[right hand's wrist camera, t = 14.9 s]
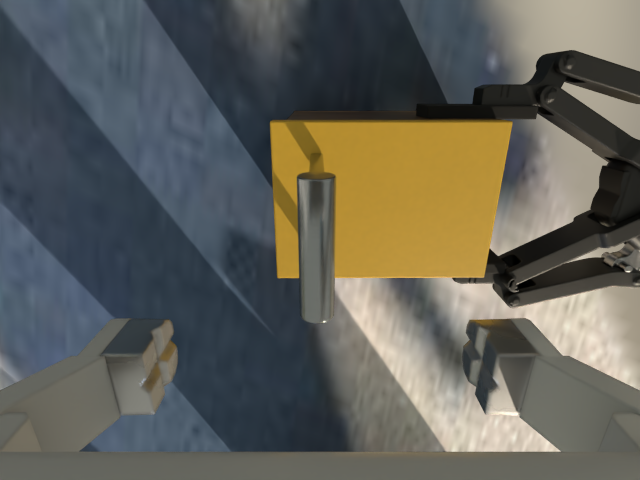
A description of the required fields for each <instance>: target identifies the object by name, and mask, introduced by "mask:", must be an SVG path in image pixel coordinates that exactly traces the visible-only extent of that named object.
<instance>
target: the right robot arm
mask: <svg viewBox="0 0 640 480" xmlns="http://www.w3.org/2000/svg"><path fill="white" fill-rule="evenodd" d="M173 334H174V329H173V325H172V322H171V321H170V320H169V319H131V318H123V319H112V320H110V321H109V322H108V323H107V324H106V325H105V326H104V327H103V328H102V330H101V331H100V332H99V333H98V334H97V335H96V336H95V337H94V338H93V339H92V340H91V342H90V343H89V344H88V345H87V346H86V347H85V348H84V349H83V350H82V351H81V352H80V353H79V355H78V356H70V357H68V358H66V359H64V360H62V361H60V362H58V363H56V364H54V365H52V366H50V367H48V368H46V369H43V370H41V371H39V372H37V373H35V374H33V375H31V376H29V377H27V378H25V379H23V380H21V381H19V382H17V383H15V384H13V385H11V386H9V387H6V388H4V389H2V390H0V480H640V390H637V389H635V388H633V387H631V386H629V385H627V384H625V383H623V382H621V381H619V380H617V379H615V378H613V377H611V376H609V375H607V374H605V373H603V372H601V371H598V370H596V369H594V368H592V367H590V366H588V365H586V364H584V363H582V362H580V361H578V360H576V359H574V358H572V357H570V356H562V355H561V353H560V352H559V351H558V350H557V349H556V348H555V347H554V346H553V345H552V344H551V343H550V341H549V340H548V339H547V338H546V337H545V336H544V335H543V334H542V333H541V332H540V331H539V329H538V328H537V327H536V326H535V325H534V324H533V323H532V322H531V321H530V320H528V319H526V318H517V319H489V320H469V322H468V324H467V329H466V334H467V336H468V337H469V339H470V340H469V341H468V342H467V343H466V344H465V345H464V346H463V353H462V362H463V369H464V372H465V375H466V377H467V379H468V381H469V382H470V383H472V384H473V385H474V386H476V391H475V395H476V397H477V399H478V401H479V403H480V405H481V407H482V409H483V411H484V413H485V414H490V415H520V418H521V419H523V420H524V421H525V422H526V423H527V424H529V425H530V426H531V427H532V428H533V429H535V430H536V431H537V432H538V433H540V434H541V435H542V436H543V437H544V438H546V439H547V440H548V441H549V442H550V443H552V444H553V445H554V446H555V447H556V448H558V449H559V450H560V451H561V452H79V451H80V450H81V449H82V448H84V447H85V446H86V445H87V444H89V443H90V442H91V441H92V440H93V439H95V438H96V437H97V436H98V435H99V434H101V433H102V432H103V431H104V430H105V429H107V428H108V427H109V426H110V425H112V424H113V423H114V422H115V421H116V420H118V419H119V418H120V415H149V414H155V413H156V411H157V409H158V407H159V405H160V403H161V401H162V399H163V397H164V395H165V391H164V386H166V385H167V384H168V383H170V382H171V381H172V379H173V377H174V375H175V373H176V368H177V364H178V352H177V346H176V345H175V344H174V343H173V342H172V341H171V340H170V339H171V337H172V336H173Z"/></svg>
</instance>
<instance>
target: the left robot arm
mask: <svg viewBox="0 0 640 480" xmlns="http://www.w3.org/2000/svg"><path fill="white" fill-rule="evenodd" d="M564 82H566V83H570V84H573V85H576V86H579V87H583V88H586V89H589V90H592V91H595V92H598V93H602V94H605V95H608V96H611V97H615V98H618V99H621V100H624V101H627V102H631V103H635V104H640V72H639V71H636V70H633V69H630V68H627V67H624V66H621V65H618V64H615V63H612V62H608V61H606V60H602V59H599V58H596V57H593V56H590V55H587V54H584V53H581V52H578V51H574V50H569V51H563V52H556V53H550V54H545V55H542V56H541V57H540V58H539V59H538V61H537V64H536V72H535V74H534V76H533V78H532V79H531V80H530V81H529V82H527V83H526V84H523V85H481V86H479V87H476V88H475V89H474V96H473V103H472V104H417V109H416V116H419V117H423V118H427V119H536V116H537V113H538V114H539V115H541V116H542V117H544V118H545V119H547V120H548V121H550V122H551V123H553V124H554V125H556V126H558V127H559V128H561V129H562V130H564V131H565V132H567V133H568V134H570V135H571V136H573V137H574V138H576V139H577V140H579V141H580V142H582V143H583V144H585V145H586V146H588V147H589V148H591V149H592V151H593V152H594V153H595V154H597V155H598V156H600V157H601V158H603V159H604V160H606V161H607V162H609V163H608V164H607V166H602V169H601V172H600V176H599V189H598V191H597V193H596V194H595V196H594V198H593V201H592V204H591V210H589V211H587V212H584V213H582V214H580V215H578V216H576V217H575V218H574V221H573V222H572V223H570V224H567V225H565V226H563V227H561V228H559V229H556V230H554V231H552V232H550V233H548V234H546V235H543V236H541V237H539V238H537V239H535V240H533V241H530V242H528V243H526V244H524V245H522V246H519V247H517V248H515V249H513V250H511V251H509V252H506V253H504V254H502V255H500V256H497V255H496V254H495V253H494V252H493V251H492V250H491V249H490V248H489V253H488V258H487V264H486V269H485V275H484V277H452V279H453V280H454V281H455V282H458V283H461V284H468V283H469V284H474V283H475V284H481V283H493V289H494V291H495V292H496V293H497V294H498V295H499V296H500V297H501V298H502V300H503V301H504V302H505V303H506V304H507V305H508V306H509V307H510V308H518V307H522V306H527V305H531V304H536V303H540V302H545V301H549V300H554V299H558V298H563V297H567V296H572V295H576V294H581V293H585V292H589V291H594V290H598V289H603V288H607V287H612V286H615V287H628V288H639V287H640V271H639V269H640V140H637V139H635V138H633V137H631V136H630V135H628V134H627V133H625V132H624V131H623V130H621V129H620V128H618V127H617V126H615V125H614V124H612V123H611V122H609V121H608V120H606V119H605V118H603V117H602V116H601V115H599V114H598V113H596V112H595V111H593V110H592V109H590V108H589V107H587V106H586V105H585V104H583V103H582V102H580V101H579V100H577V99H576V98H574V97H573V96H571V95H570V94H568V93H567V92H566V91H564V90H563V89H561V87H562V85H563V83H564ZM622 243H624V244H625V246H624V247H623V248H622V249H621V250H620V251H618V252H613V253H608V252H605V253H603V254H602V256H601V258H587V259H582V260H578V261H573V262H569V261H571V260H573V259H576V258H578V257H580V256H583V255H585V254H587V253H589V252H592V251H594V250H596V249H599V248H612V247H615V246H617V245H619V244H622ZM567 262H569V263H567ZM564 263H565V264H564Z"/></svg>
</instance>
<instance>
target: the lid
mask: <svg viewBox="0 0 640 480" xmlns="http://www.w3.org/2000/svg"><path fill="white" fill-rule="evenodd" d="M511 128H512V121H507V120H272V121H270V137H271V158H272V179H273V200H274V221H275V242H276V263H277V277H278V278H299V295H300V316H301V318H302V319H303V320H304V321H306V322H309V323H314V324H320V323H325V322H328V321H329V320H331V319H332V318H333V316H334V287H335V278H437V277H484V275H485V269H486V264H487V258H488V253H489V247H490V242H491V237H492V231H493V226H494V220H495V215H496V209H497V204H498V199H499V193H500V188H501V182H502V177H503V171H504V166H505V161H506V155H507V150H508V144H509V139H510V133H511Z"/></svg>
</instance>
